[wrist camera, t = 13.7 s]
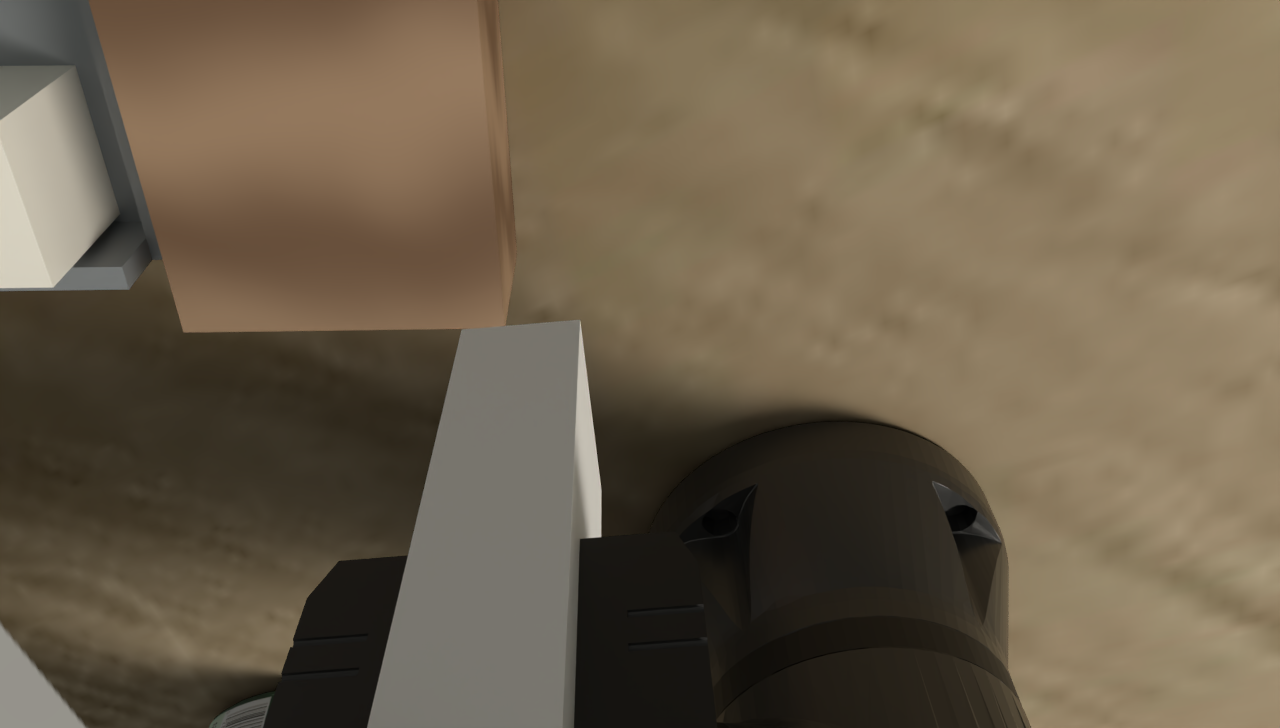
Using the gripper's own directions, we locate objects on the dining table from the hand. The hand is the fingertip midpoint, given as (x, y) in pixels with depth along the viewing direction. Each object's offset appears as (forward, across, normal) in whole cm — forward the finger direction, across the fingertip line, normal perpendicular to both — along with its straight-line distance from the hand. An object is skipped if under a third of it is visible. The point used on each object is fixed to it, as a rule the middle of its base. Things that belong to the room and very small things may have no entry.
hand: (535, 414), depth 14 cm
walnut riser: (+22, +7, -2) cm, 23 cm away
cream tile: (+19, +16, +3) cm, 25 cm away
